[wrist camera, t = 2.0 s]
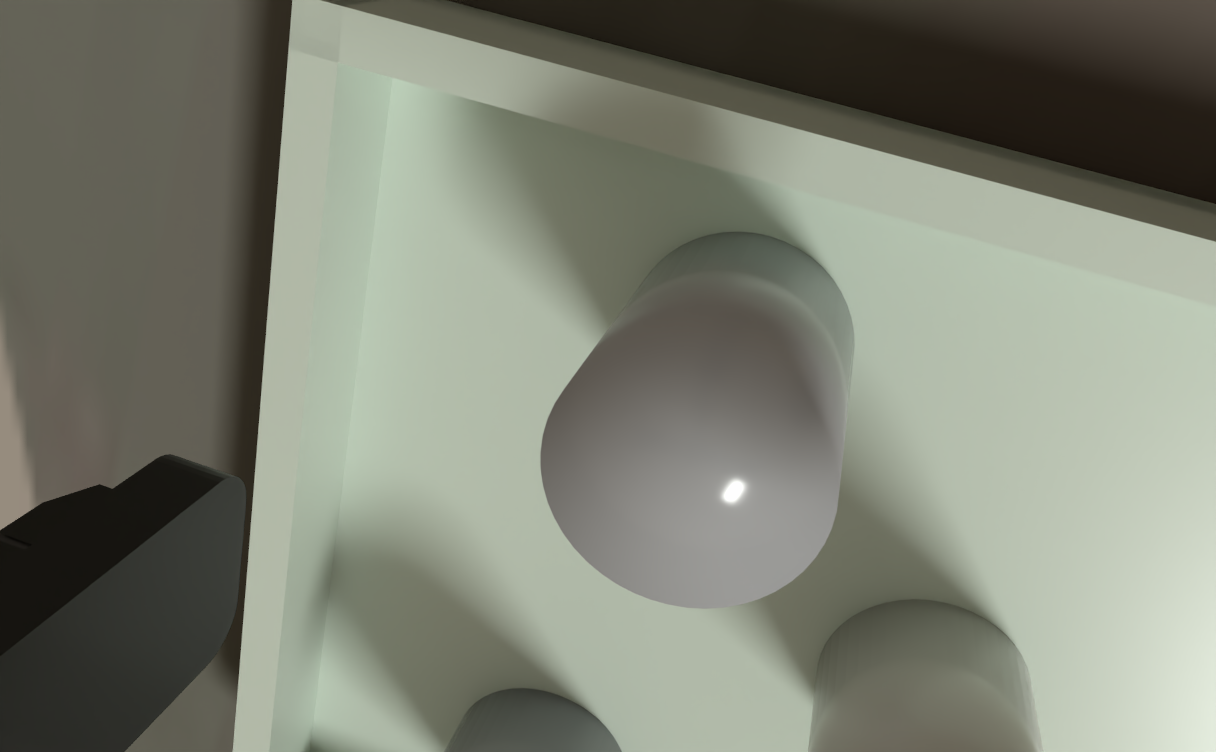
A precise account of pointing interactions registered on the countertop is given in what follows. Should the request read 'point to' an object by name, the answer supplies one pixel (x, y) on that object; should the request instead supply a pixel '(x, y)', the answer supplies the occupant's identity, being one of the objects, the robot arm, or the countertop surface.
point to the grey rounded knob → (530, 725)
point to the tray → (587, 306)
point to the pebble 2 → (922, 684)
